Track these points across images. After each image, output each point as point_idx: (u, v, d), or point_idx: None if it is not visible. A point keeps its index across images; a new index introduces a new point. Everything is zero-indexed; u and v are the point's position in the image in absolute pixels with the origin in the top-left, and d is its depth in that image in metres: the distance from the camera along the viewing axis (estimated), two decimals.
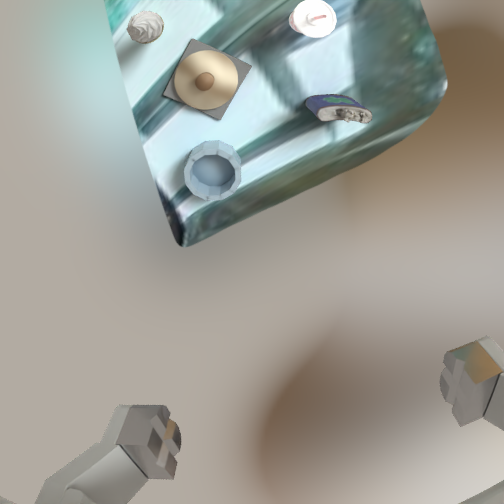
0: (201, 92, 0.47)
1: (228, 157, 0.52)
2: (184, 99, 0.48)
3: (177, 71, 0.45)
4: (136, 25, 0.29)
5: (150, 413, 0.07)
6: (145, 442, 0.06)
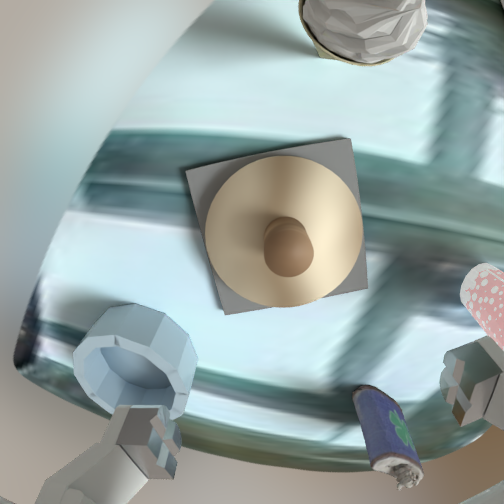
0: (252, 248, 0.21)
1: (179, 391, 0.22)
2: (210, 226, 0.21)
3: (260, 164, 0.19)
4: None
5: (150, 413, 0.07)
6: (145, 442, 0.06)
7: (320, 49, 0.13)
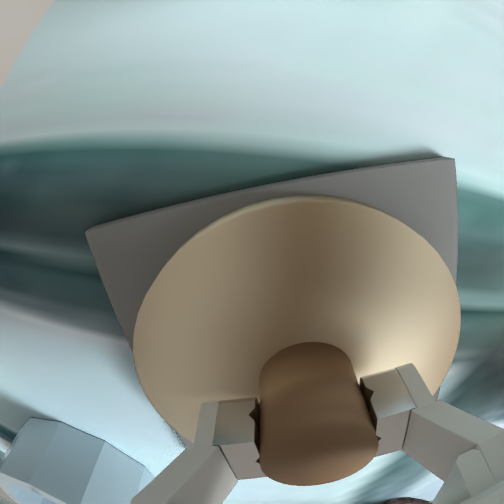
0: (236, 397, 0.09)
1: None
2: (144, 357, 0.09)
3: (251, 223, 0.07)
4: None
5: (246, 407, 0.07)
6: (250, 438, 0.06)
7: None
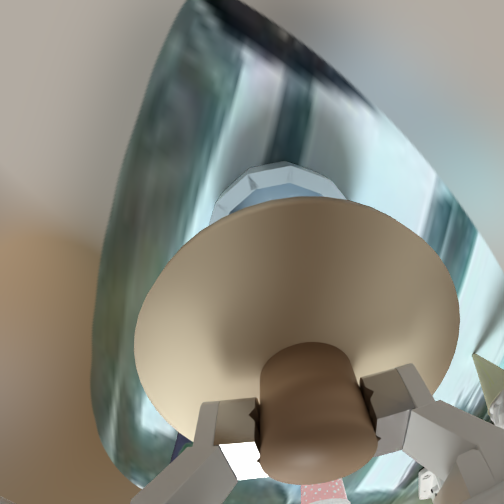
0: (236, 397, 0.09)
1: None
2: (145, 357, 0.09)
3: (251, 224, 0.07)
4: None
5: (247, 407, 0.07)
6: (250, 438, 0.06)
7: (494, 379, 0.23)
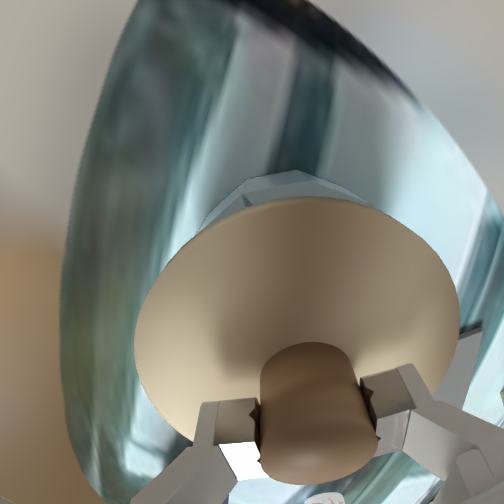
0: (236, 397, 0.09)
1: None
2: (145, 357, 0.09)
3: (251, 224, 0.07)
4: None
5: (247, 406, 0.07)
6: (250, 438, 0.06)
7: None
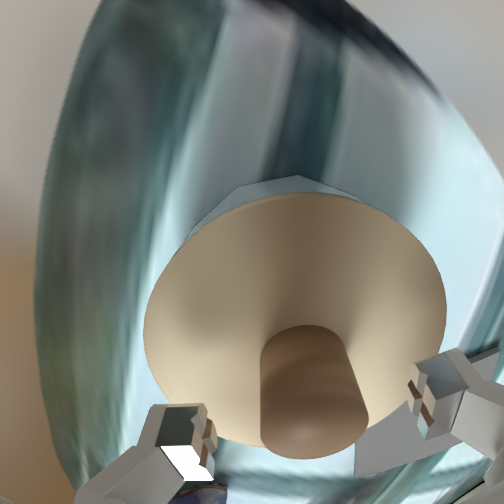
0: (238, 378, 0.10)
1: None
2: (153, 340, 0.10)
3: (252, 216, 0.08)
4: None
5: (190, 411, 0.07)
6: (188, 442, 0.06)
7: None
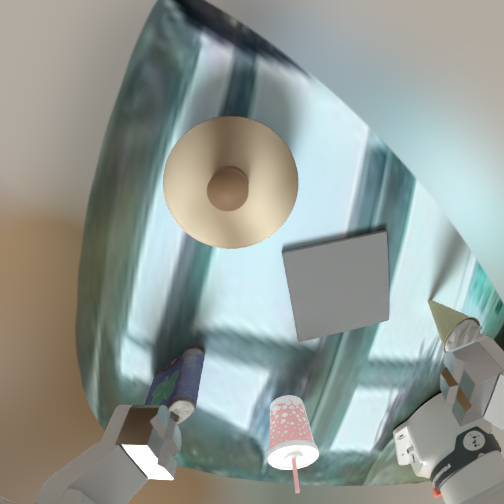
0: (202, 195, 0.24)
1: None
2: (167, 177, 0.24)
3: (207, 123, 0.22)
4: None
5: (150, 413, 0.07)
6: (145, 442, 0.06)
7: (447, 319, 0.28)
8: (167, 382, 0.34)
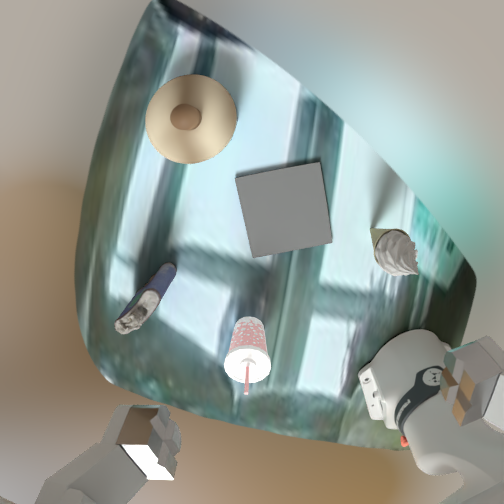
0: (171, 126, 0.33)
1: None
2: (148, 116, 0.33)
3: (175, 80, 0.31)
4: (413, 273, 0.29)
5: (150, 413, 0.07)
6: (145, 442, 0.06)
7: (378, 233, 0.36)
8: None
